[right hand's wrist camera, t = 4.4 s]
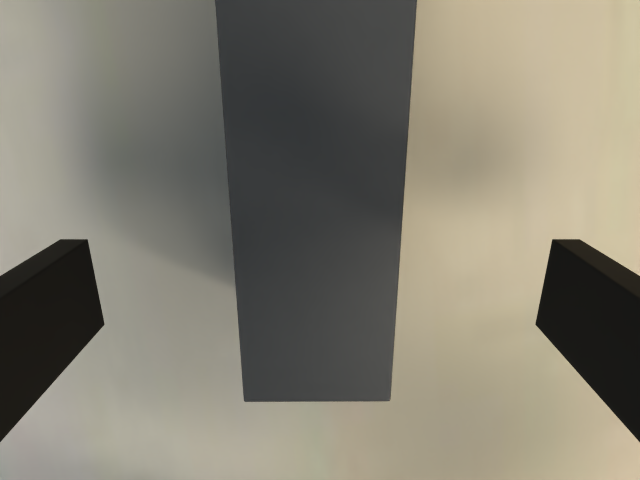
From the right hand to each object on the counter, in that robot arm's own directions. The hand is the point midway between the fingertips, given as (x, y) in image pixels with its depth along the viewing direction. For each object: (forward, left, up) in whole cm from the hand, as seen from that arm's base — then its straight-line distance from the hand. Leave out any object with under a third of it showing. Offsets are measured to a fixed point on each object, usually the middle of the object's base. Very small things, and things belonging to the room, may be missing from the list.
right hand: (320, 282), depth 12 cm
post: (+17, -18, -10) cm, 27 cm away
